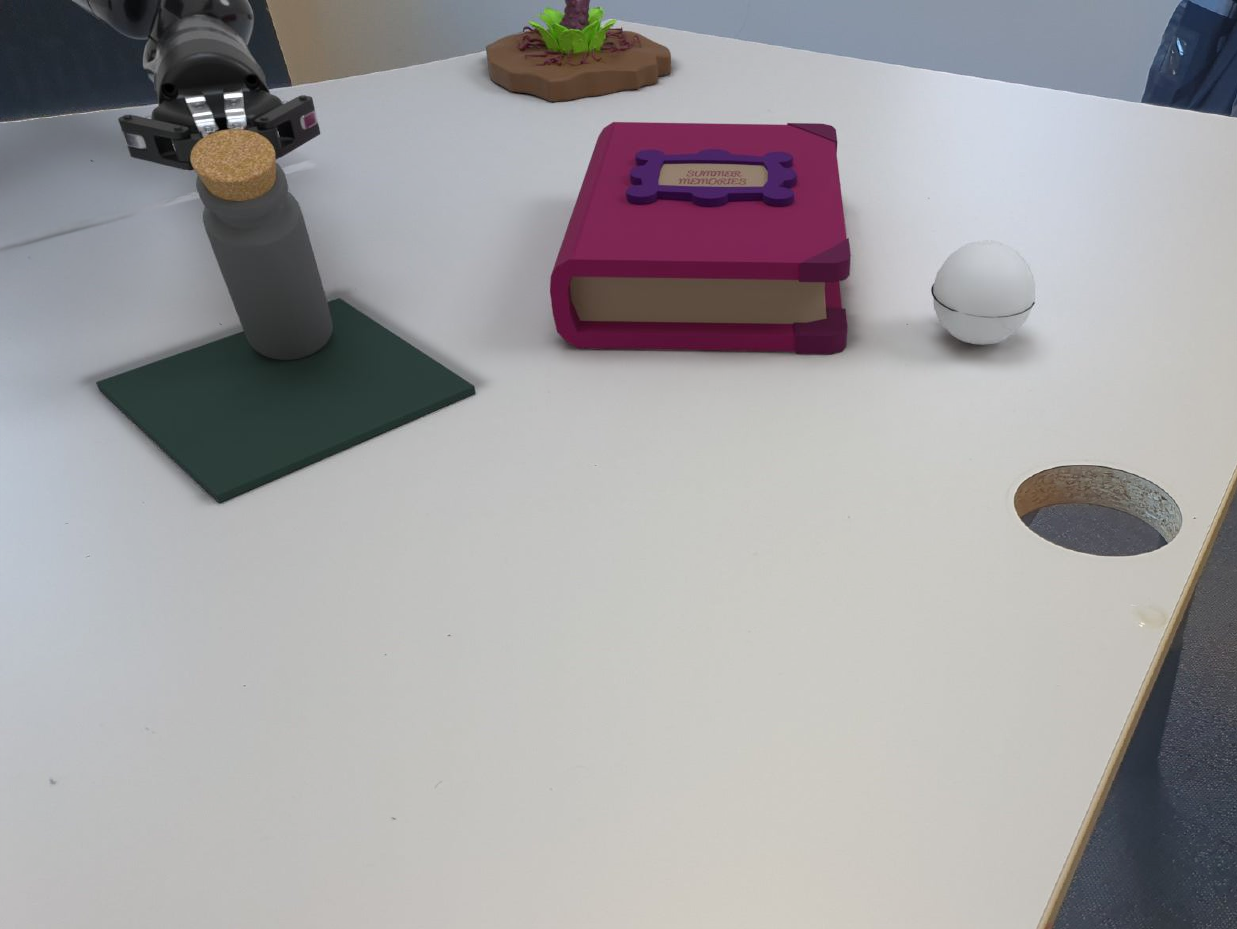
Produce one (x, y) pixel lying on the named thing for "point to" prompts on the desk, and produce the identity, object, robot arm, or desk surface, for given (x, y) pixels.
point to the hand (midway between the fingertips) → (233, 167)
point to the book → (706, 241)
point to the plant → (575, 56)
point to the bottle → (261, 244)
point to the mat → (280, 401)
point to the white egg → (983, 292)
